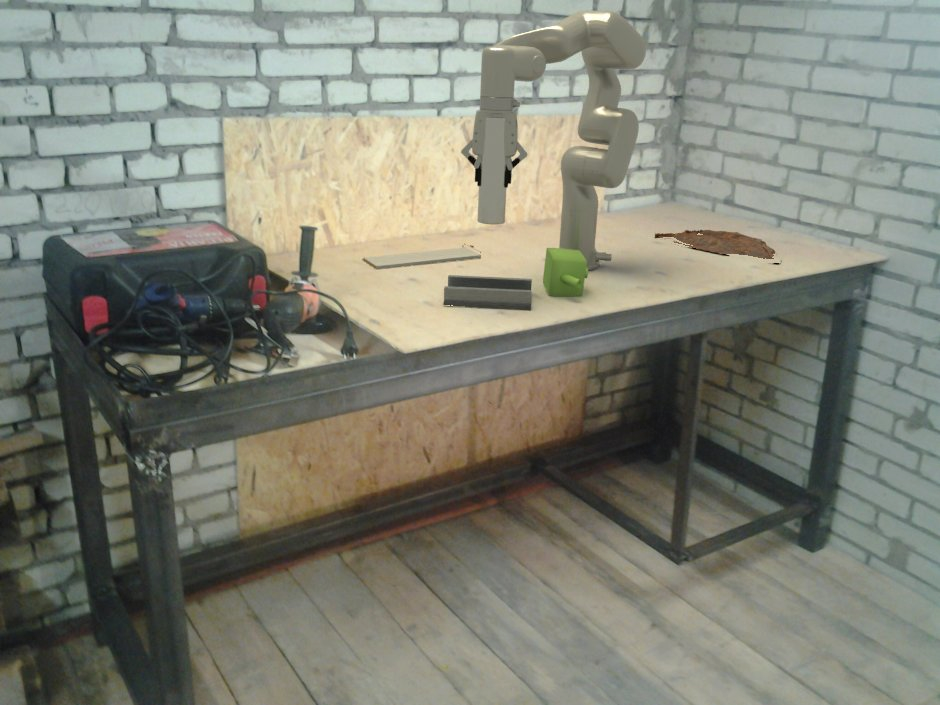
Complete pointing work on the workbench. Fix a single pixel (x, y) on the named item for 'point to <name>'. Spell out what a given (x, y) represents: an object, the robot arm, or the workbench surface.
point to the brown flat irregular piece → (723, 242)
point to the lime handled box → (564, 272)
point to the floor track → (488, 292)
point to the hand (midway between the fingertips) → (492, 185)
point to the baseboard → (421, 257)
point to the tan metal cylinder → (493, 173)
